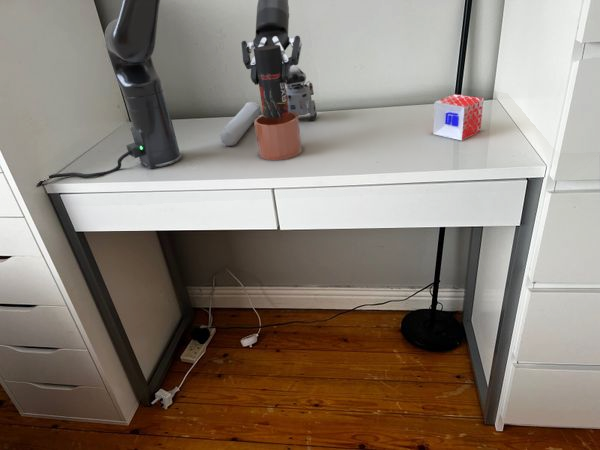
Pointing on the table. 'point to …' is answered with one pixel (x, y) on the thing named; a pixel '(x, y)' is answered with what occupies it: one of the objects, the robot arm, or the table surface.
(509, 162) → the table surface
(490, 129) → the table surface
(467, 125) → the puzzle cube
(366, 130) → the table surface
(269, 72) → the deodorant
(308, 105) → the figurine
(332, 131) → the table surface
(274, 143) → the cup
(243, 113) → the tube
